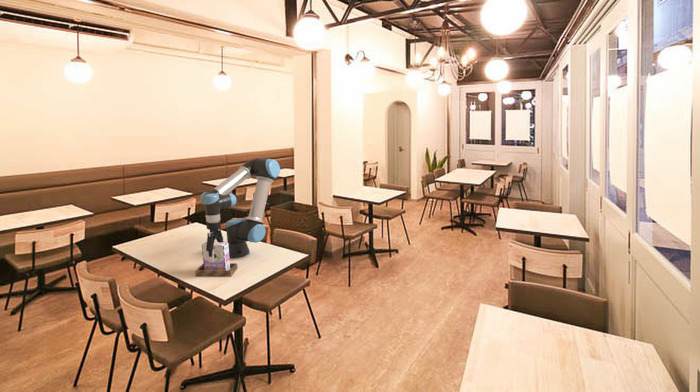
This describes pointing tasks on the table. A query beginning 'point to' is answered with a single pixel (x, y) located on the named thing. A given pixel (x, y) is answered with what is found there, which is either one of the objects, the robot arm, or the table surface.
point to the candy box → (217, 257)
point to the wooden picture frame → (216, 271)
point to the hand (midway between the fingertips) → (216, 257)
